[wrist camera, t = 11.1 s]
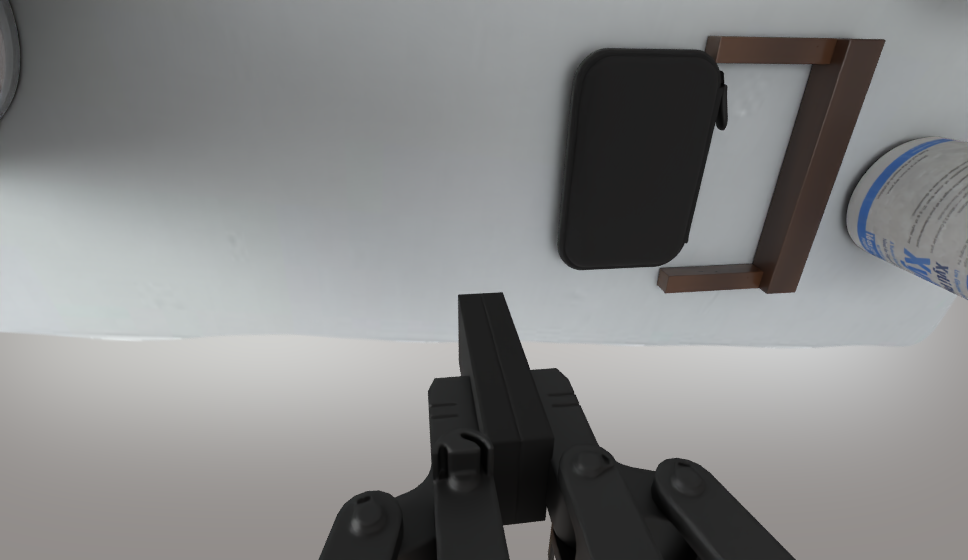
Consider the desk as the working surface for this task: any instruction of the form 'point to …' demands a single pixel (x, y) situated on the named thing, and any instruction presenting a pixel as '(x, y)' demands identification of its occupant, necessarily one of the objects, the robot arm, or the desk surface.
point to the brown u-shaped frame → (793, 157)
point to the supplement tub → (917, 211)
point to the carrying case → (636, 154)
